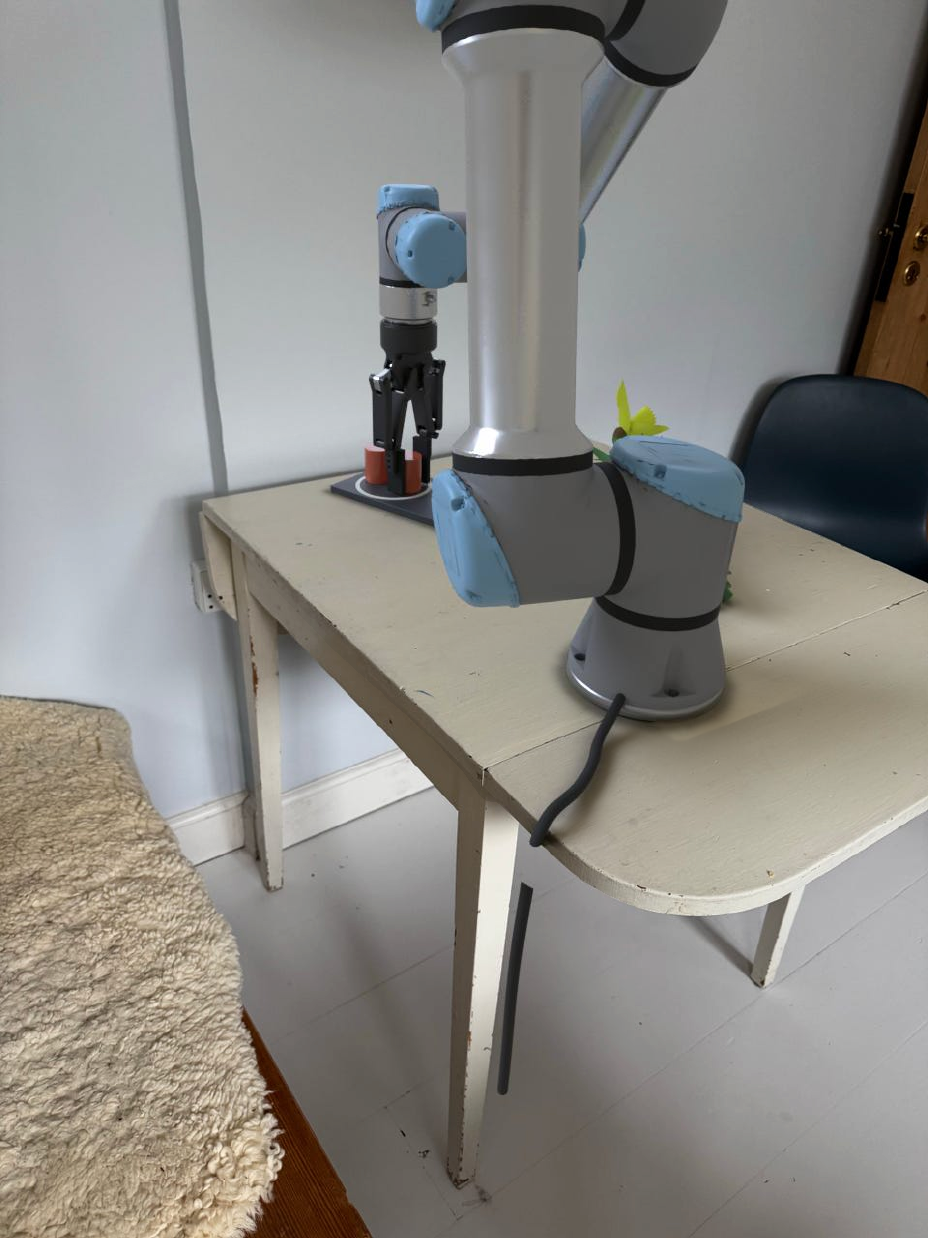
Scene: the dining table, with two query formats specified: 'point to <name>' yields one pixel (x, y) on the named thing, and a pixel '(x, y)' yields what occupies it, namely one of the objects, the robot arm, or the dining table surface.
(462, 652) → the dining table surface
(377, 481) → the short coral cylinder
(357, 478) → the slate board
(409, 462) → the red cylinder block
